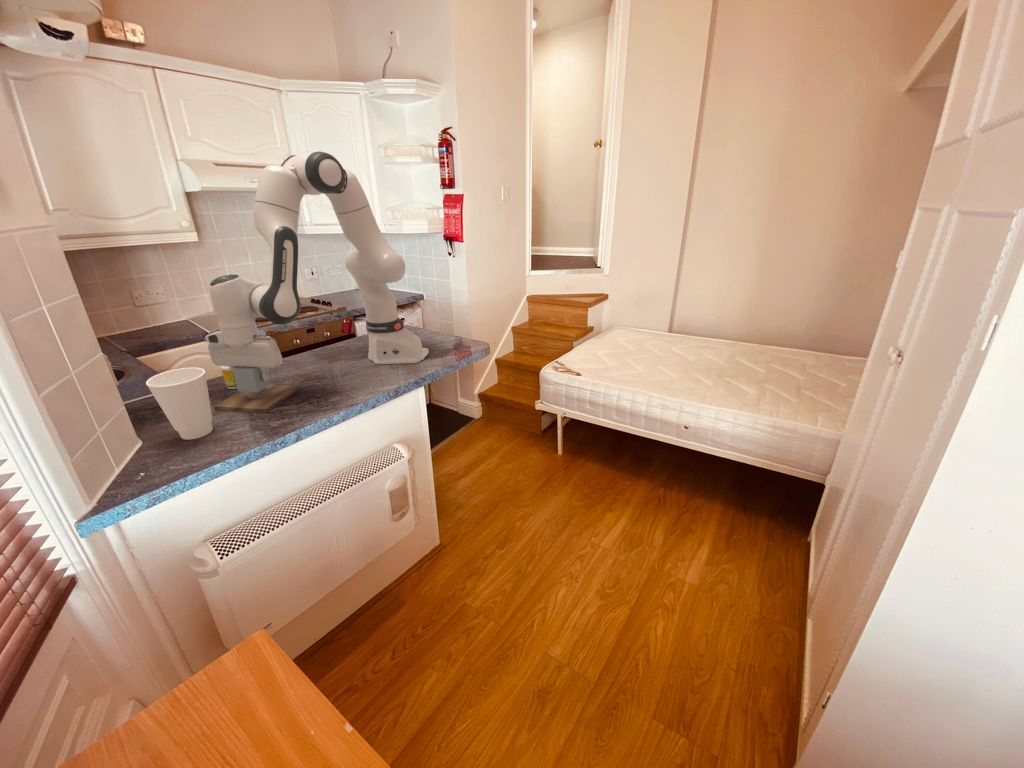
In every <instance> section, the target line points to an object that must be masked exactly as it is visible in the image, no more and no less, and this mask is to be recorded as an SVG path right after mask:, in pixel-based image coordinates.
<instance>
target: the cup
mask: <svg viewBox="0 0 1024 768" xmlns="http://www.w3.org/2000/svg"><path fill="white" fill-rule="evenodd" d="M145 386H147V387H148V389H149V391H150V392H151V394H152V395H153V397H154V399H155V400H156V401H157V403H158V405H159V407H160V408H161V410H162V411H163V413H164V415H165V416H166V418H167V419H168V421H169V423H170V424H171V426H172V427H173V430H175V431H176V432H178V434H179V437H180V439H183V440H188V441H189V440H195V439H200V438H202V437H204V436H207V435H209V434H210V433H211V432H212V431H213V429H214V428H213V424H212V423H213V414H212V408H211V401H210V397H209V395H210V394H209V388H208V382H207V376H206V370H205V369H204V368H201V367H191V366H190V367H182V368H176V369H172V370H167V371H164V372H161V373H158V374H155V375H153V376H151V377H150V378H148V379H147V380H146V382H145Z"/></svg>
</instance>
